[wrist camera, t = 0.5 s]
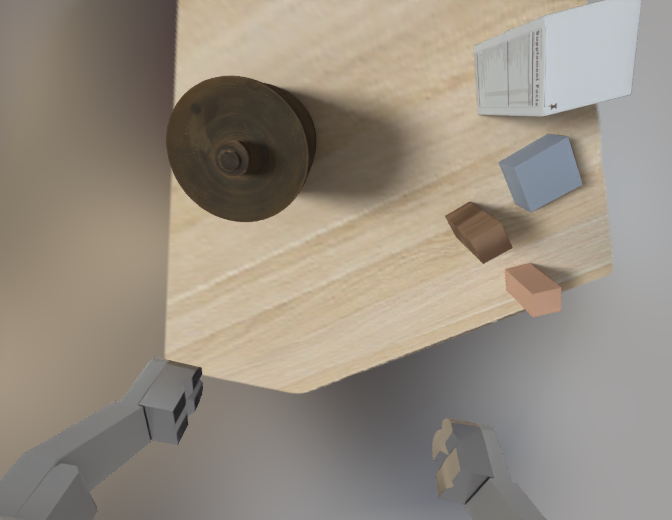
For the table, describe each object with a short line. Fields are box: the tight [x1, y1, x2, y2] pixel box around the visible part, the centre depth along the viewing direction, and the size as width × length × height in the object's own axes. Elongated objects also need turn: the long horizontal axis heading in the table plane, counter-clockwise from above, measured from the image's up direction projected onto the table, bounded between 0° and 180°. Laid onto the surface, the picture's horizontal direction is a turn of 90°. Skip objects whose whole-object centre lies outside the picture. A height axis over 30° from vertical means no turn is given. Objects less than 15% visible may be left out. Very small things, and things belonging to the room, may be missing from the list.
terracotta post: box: [505, 263, 561, 317], centre depth 58 cm, size 4×4×9 cm
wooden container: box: [166, 76, 316, 222], centre depth 41 cm, size 15×15×22 cm
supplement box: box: [474, 0, 642, 117], centre depth 40 cm, size 10×9×17 cm
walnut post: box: [445, 202, 512, 264], centre depth 52 cm, size 4×4×11 cm
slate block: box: [499, 134, 583, 212], centre depth 52 cm, size 8×8×5 cm
